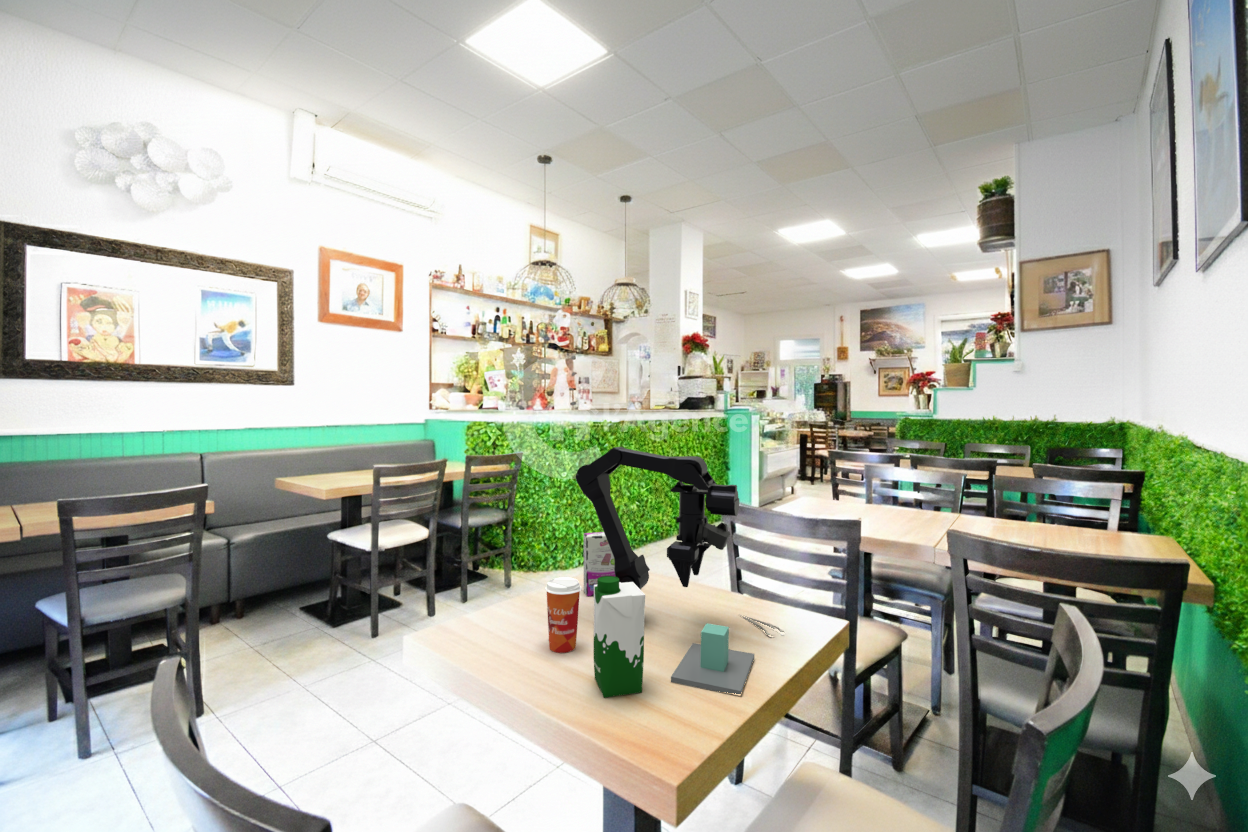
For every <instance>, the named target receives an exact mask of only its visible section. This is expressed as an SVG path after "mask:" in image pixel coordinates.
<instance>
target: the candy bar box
mask: <svg viewBox="0 0 1248 832" xmlns="http://www.w3.org/2000/svg"><path fill="white" fill-rule="evenodd" d="M602 576H615V572H614V556H613V554H612V551H611V549H610V546H609V544H608V541H607V538H606V536H605V533H604V531H599V532H598V531H597V532H585V533H583V592H584V594H585V596H586V597H594V585H597V579H598V578H599V577H602Z"/></svg>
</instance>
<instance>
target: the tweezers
mask: <svg viewBox="0 0 1248 832" xmlns="http://www.w3.org/2000/svg"><path fill="white" fill-rule="evenodd" d="M739 615H740V616H739V617H741V616H742V614H739ZM744 616H745V617H744ZM742 617H743V618H742ZM742 617H741V618H742V619H744V618H745V619H744V620H745V621H747V620H748V621H747V622H748V623H750V622H751V623H753V624H754V625H756V626H757V627H759V628H760V629H762V630H764V631H765V633H766V634H767V635H770V634H771V633H770V632H768V630H767V629H766V627H764V626H763V625H761V624H759V623H757V622H760V623H762V624H764V625H767V626H769V627H771V628H773V629H778V630H779V631H780V632H784V633H785V631H784V630H783V629H781V628H779V626H776V625H774V624H772V623H770V622H766V621H762V620H759V619H756V618H753V617H749V616H747V615H743V616H742ZM746 617H747V618H746ZM748 618H749V619H748ZM750 619H752V620H754V621H757V622H754V621H752V620H750ZM751 623H750V624H751ZM753 624H752V625H753ZM754 625H753V626H754ZM756 626H755V627H756ZM757 627H756V628H757ZM759 628H758V629H759ZM760 629H759V630H760ZM765 633H764V634H765ZM766 634H765V635H766ZM767 635H766V636H767Z"/></svg>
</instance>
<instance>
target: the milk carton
mask: <svg viewBox="0 0 1248 832" xmlns="http://www.w3.org/2000/svg"><path fill="white" fill-rule="evenodd" d="M645 608H646V594H645V593H644V592H643V591H642V589H641V590H640V589H639V588H638V587H637V586H636V584H635V583H634V582H625V583H621V582H619V578H617V577H615V576H602V577H599V578H598V579H597V585H594V596H593V672H594V673H593V674H594V681H595V682H596V684H597V687H598V688H599V690H600V692H601V694H602V697H603V698H605V699H606V698H611V697H619V696H620V697H621V696H627V695H632V694H640V693H641V694H642V692H643V678H644V677H643V676H644V663H645V662H644V659H645V657H644V655H645Z"/></svg>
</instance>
